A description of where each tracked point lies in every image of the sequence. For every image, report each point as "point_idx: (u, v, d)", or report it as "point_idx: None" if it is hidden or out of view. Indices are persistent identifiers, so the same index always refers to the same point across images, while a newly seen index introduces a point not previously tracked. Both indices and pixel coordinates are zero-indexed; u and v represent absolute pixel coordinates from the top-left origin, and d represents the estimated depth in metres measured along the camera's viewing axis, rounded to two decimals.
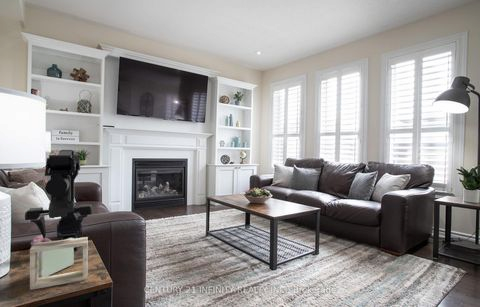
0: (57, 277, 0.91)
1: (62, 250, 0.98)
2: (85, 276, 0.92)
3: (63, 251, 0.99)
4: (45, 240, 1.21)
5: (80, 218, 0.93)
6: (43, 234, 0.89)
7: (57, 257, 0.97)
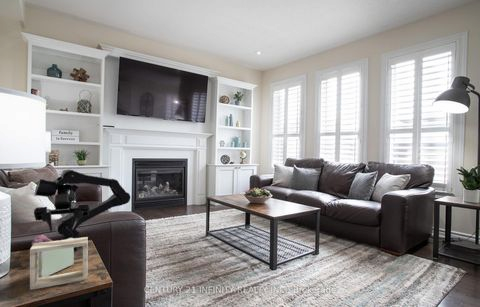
0: (57, 277, 0.91)
1: (62, 250, 0.98)
2: (85, 276, 0.92)
3: (63, 251, 0.99)
4: (46, 240, 1.22)
5: (76, 212, 1.10)
6: (50, 227, 1.04)
7: (57, 257, 0.97)
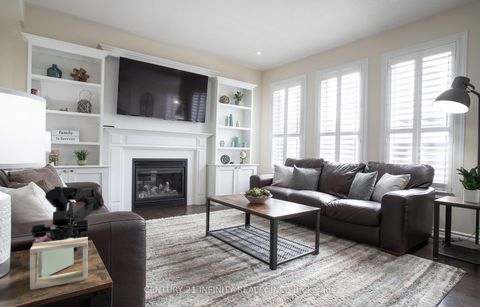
0: (57, 277, 0.91)
1: (62, 250, 0.98)
2: (85, 276, 0.92)
3: (63, 251, 0.99)
4: (47, 240, 1.22)
5: (65, 230, 1.05)
6: None
7: (57, 257, 0.97)
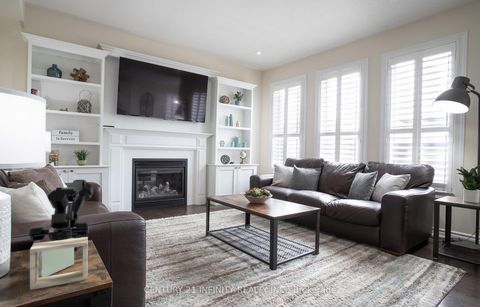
0: (57, 277, 0.91)
1: (62, 250, 0.98)
2: (85, 276, 0.92)
3: (63, 251, 0.99)
4: (48, 240, 1.22)
5: (64, 233, 1.02)
6: None
7: (57, 257, 0.97)
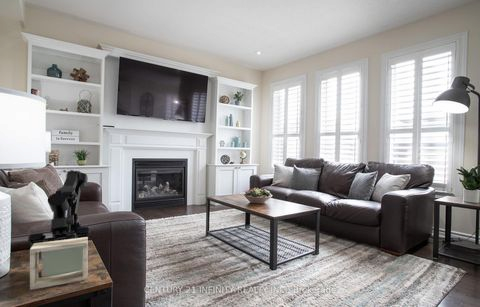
0: (57, 277, 0.91)
1: (68, 254, 0.95)
2: (85, 276, 0.92)
3: (69, 255, 0.95)
4: None
5: (68, 238, 0.99)
6: None
7: (61, 260, 0.94)
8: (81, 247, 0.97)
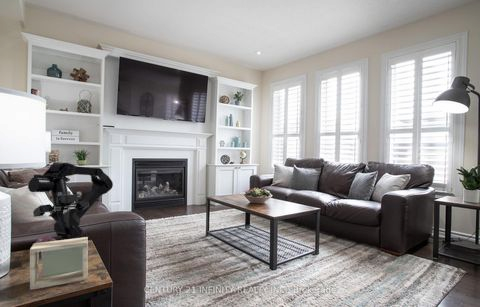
0: (57, 277, 0.91)
1: (68, 254, 0.95)
2: (85, 276, 0.92)
3: (69, 255, 0.95)
4: (50, 239, 1.22)
5: (72, 211, 1.10)
6: (64, 224, 1.07)
7: (61, 260, 0.94)
8: (81, 247, 0.97)
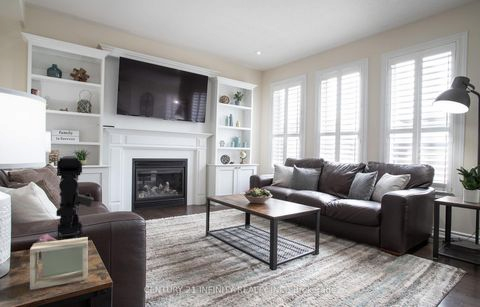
0: (57, 277, 0.91)
1: (68, 254, 0.95)
2: (85, 276, 0.92)
3: (69, 255, 0.95)
4: (50, 239, 1.22)
5: None
6: (71, 224, 1.06)
7: (61, 260, 0.94)
8: (81, 247, 0.97)
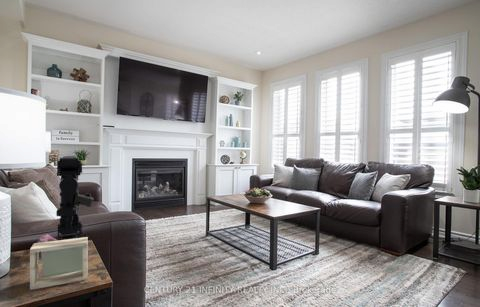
0: (57, 277, 0.91)
1: (68, 254, 0.95)
2: (85, 276, 0.92)
3: (69, 255, 0.95)
4: (51, 239, 1.23)
5: None
6: (71, 224, 1.06)
7: (61, 260, 0.94)
8: (81, 247, 0.97)
